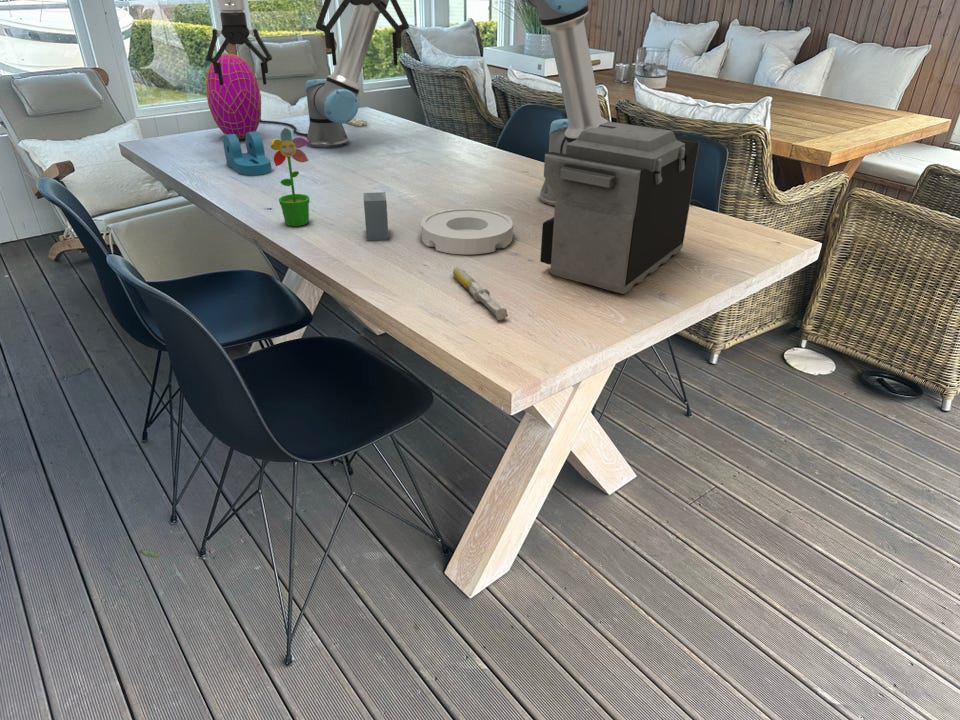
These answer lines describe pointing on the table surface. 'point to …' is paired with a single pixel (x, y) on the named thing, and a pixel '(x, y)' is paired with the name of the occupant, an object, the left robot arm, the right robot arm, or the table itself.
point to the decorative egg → (234, 96)
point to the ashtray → (467, 231)
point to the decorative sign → (357, 122)
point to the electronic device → (618, 204)
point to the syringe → (479, 293)
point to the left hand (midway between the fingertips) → (243, 84)
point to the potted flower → (291, 178)
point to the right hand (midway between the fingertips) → (365, 64)
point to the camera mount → (246, 154)
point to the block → (376, 216)
